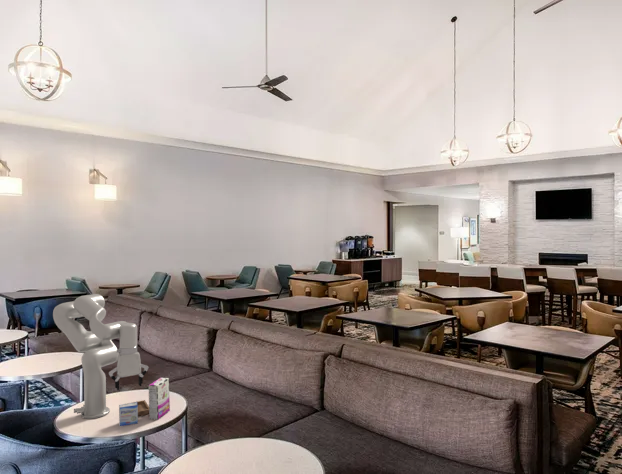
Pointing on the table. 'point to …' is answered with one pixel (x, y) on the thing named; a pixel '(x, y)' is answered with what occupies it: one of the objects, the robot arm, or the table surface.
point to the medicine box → (128, 414)
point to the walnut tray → (142, 408)
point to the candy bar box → (159, 398)
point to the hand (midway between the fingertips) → (129, 387)
